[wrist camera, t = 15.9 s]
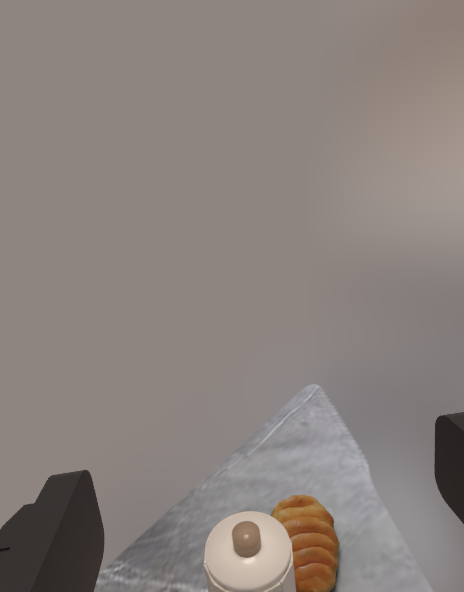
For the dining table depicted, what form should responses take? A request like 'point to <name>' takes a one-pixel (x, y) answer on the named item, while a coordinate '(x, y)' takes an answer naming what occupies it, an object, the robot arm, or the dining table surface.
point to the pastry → (310, 542)
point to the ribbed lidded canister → (249, 555)
